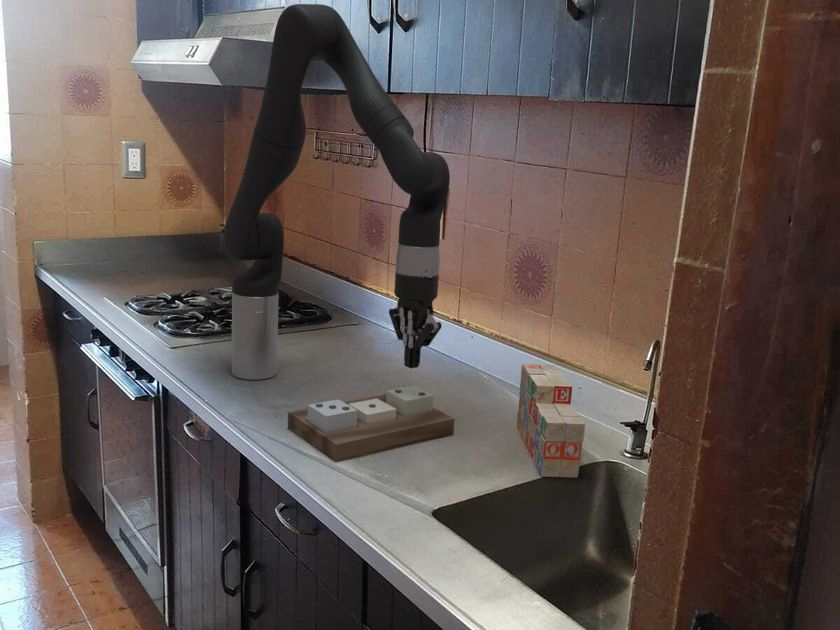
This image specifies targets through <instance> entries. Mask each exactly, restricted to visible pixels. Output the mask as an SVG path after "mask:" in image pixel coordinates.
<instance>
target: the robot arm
mask: <svg viewBox="0 0 840 630" xmlns="http://www.w3.org/2000/svg"><path fill="white" fill-rule="evenodd" d="M317 61H323V62H324V63H325V64H327V65H328V66H329V67H330V68H331V69H332V70H333V72H335V74H336V75H337V76H338V77H339V79H340V81H341V82H342V84H343V86H344V88H345V91H346V94H347V98H348V99H347V100H348V103H349V105H350V106H349V107H350V110H351V112H352V115H353V117H354V119H355V121H356V123H357V125H358V126H359V127H360V129H361V130H362V131H363V132H364V134H365V135H366V136H367V137H368V139H369V141H370V142H371V143H372V144H373V146H374V147H375V148H376V149H377V150H378V152H379V153H380V155H381V158H382V160H383V162H384V165H385V166H386V167H385V168H386V169H387V171H388V173H389V175H390V176H391V178H392V180H393V182H394V183H395V184H396V185H397V187H399V189H401V190H402V191H403V192H405V193H406V194H408V195H410V198H409V203H408V206H407V208H406V209H404V210H403V211H402V213H400V218H399V224H398V225H399V227H398V240H397V242H398V244H397V250H396V251H397V252H396V256H395V274H394V289H393V290H394V292H393V293H394V296H395V297H396V298H397V299H398V300H397V303H396V307H395V308H389V310H388V314H389V317H390V321H391V323H392V326H393V328H394V332H395V335H396V338H397V339H398V341H402V344H403V346H404V353H403V354H404V355H403V360H404V361H403V362H404V363H403V364H404V366H405V367H407V368H409V369H415V368H418V367H420V363H421V353H422V352H421V351H422V347H429V346H430V345H431V344H432V342H433V341H434V339H435V338H436V336H437V335H438V333H439V332H440V330H441V329H442V323H441V322H440V321H436V319H435V318H434V307H433V302H434V301H435V300H436V299H437V297H438V295H439V294H438V293H439V280H440V260H441V257H440V239H441V220H442V216H443V214H444V213H443V212H444V209H445V206H446V202H447V199H448V198H447V197H448V193H449V187H450V183H451V181H450V180H451V178H450V177H451V176H450V168H449V165H448V162H447V160H446V159H445V158H444V157H443V155H440V154H439V153H437V152H431V151H430V152H429V151H427V152H426V151H424V152H423V150H422V149H420V147H419V146H418V144H417V143H416V141H415V139H414V135H415V131H414V128H413V126H412V124H411V123H410V121H409V119H407V117H406V116H405V114H403V112H402V111H401V110H400V108H399V107H398V106H397V104H396V103H395V101H393V99H392V98H391V97H390V96H389V94H388V93H387V91H385V89H384V88H383V87H382V85H381V83H380V82H379V80H378V78H377V77H376V75H375V73H374V72H373V70H372V68H371V66H370V65H369V63H368V62H367V59H366V58H365V56H364V55H363V53H362V51H361V49H360V47H359V46H358V44H357V43H356V40H355V39H354V36H353V35H352V33H351V32H350V29H349V27H348V26H347V24H346V22H345V21H344V19H343V18H342V16H341V15H340V14H339V11H337V10H336V9H335V8H333V7H331V6H329V5H328V4H327V5H326V4H319V3H300V4H299V3H296V4H291V5H289V6H287V7H285V9H283V11H282V12H281V13H280V15H279V17H278V20H277V22H276V26H275V30H274V34H273V41H272V46H271V55H270V60H269V68H268V74H267V79H266V84H265V87H264V91H263V96H262V100H261V103H260V104H261V105H260V108H259V112H258V116H257V120H256V122H255V125H254V130H253V133H252V138H251V141H250V145H249V148H248V149H249V150H248V155H247V159H246V163H245V165H244V171H243V173H242V177H241V180H240V183H239V186H238V188H237V192H236V194H235V196H234V199H233V202H232V204H231V207H230V210H229V211H228V212H229V213H228V216H227V219H226V221H225V225H224V229H223V239H222V240H223V241H222V243H223V248H224V251H225V253H226V255H227V256H228V257H229V258H230V259H232V260H236V261H254V262H253V264H252V265H251V266H250V267H249V268H248V269H247V270H245V271H244V272H242V273H240V274H238V275H236V276H234V278H233V279H232V283H231V309H232V310H231V375H232V376H233V377H236V378H239V379H242V380H251V381H252V380H257V381H258V380H266V379H270V378H273V377H275V376H276V375H277V373H278V343H279V341H278V336H279V335H278V334H279V332H278V330H279V293H280V292H279V289H280V287H279V286H280V284H281V280H282V275H283V274H282V273H283V261H284V260H283V258H284V247H285V245H284V244H285V233H284V227H283V224H282V221H281V219H280V218H279V217H278V215H276V214H275V213H272V212H261V210H262V208H263V206H264V205H265V203H266V201H267V200H268V199H269V198H270V197H271V195H272V194H273V193H274V192H275V191H276V190H277V189H278V188H280V186H282V185H283V183H284V182H286V180H287V179H288V178H289V177H290V176H291V175H292V173H293V172H294V170H295V169H296V167H297V166H298V163H299V160H300V156H301V155H302V150H303V147H304V144H305V141H306V134H307V123H306V118H305V114H304V109H303V104H302V88H303V84H304V81H305V77H306V73H307V71H308V68H309V66H310V64H311V62H317Z"/></svg>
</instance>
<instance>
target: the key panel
mask: <svg viewBox="0 0 840 630" xmlns="http://www.w3.org/2000/svg"><path fill="white" fill-rule="evenodd" d="M386 395H387V393H384V394H380V395H379V394H378V395H373V396H369V397H364V398H357V399H352V400H346V401H343V402H344V403H346V404H350V403H355V402H361V401H366V400H372V399H379V400H381V401H383V402H384V403H386ZM307 418H308V408H303V409H297V410H292V411H288V412H287V429H288V430H289V431H291V432H292V433H293V434H295V435H296V436H298V437H299V438H300V439H302V440H303V441H305V442H306V443H308V444H309V445H310V446H312V447H314V448H315V449H316V450H317V451H319V452H321V453H322V454H323V455H325V456H326V457H328V458H329V459H330V460H331V461H333V462H334V463H338V462H342V461H346V460H351V459H355V458H359V457H363V456H368V455H371V454H376V453H380V452H386V451H389V450H394V449H398V448H402V447H406V446H409V445H414V444H419V443H424V442H428V441H433V440H436V439H440V438H445V437H450V436H454V433H455V431H454V429H455V418H454V417H452V416H450V415H448V414H447V413H444V412H442V411H441V410H439V409H437V408H435V407H433V411H431V412H426V413H422V414H417V415H412V416H407V417H404V416H402V415H401V414H399V413H397V412H396V419H393V420H388V421H383V422H378V423H373V424H368V425H366V424H364V423H362V422H361V421H359V420H357V427H354V428H349V429H344V430H339V431H335V432H330V433H323V432H322V431H320V430H319V429H317V428H316V427H314V426H313V425H311V424H310V423H308V422H307Z"/></svg>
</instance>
